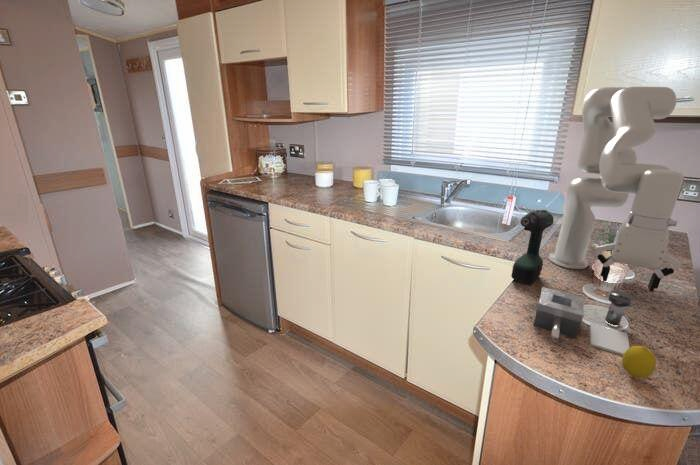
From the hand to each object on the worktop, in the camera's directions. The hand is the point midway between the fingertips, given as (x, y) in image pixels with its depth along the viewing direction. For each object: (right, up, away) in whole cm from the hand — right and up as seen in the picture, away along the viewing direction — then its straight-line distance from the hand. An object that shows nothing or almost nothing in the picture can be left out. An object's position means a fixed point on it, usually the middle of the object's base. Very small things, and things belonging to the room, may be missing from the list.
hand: (626, 284), depth 91 cm
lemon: (-9, -19, -13) cm, 24 cm away
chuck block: (-17, -12, +2) cm, 21 cm away
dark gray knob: (0, -11, +5) cm, 13 cm away
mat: (-6, -14, -1) cm, 15 cm away
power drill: (-13, -3, +27) cm, 31 cm away
